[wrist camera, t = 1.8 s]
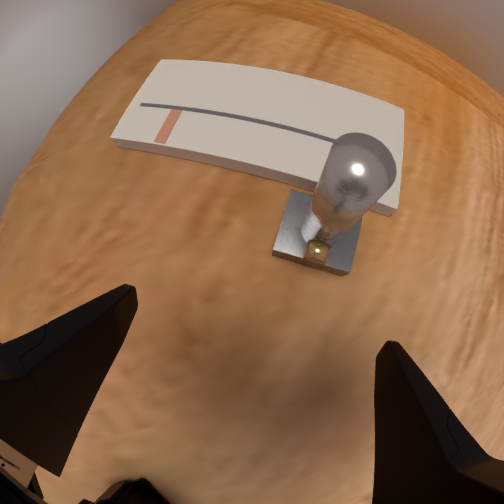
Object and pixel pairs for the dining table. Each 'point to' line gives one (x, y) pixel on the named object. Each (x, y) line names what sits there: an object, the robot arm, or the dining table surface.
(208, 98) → the board
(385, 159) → the grey piece
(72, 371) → the robot arm
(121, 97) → the dining table surface
